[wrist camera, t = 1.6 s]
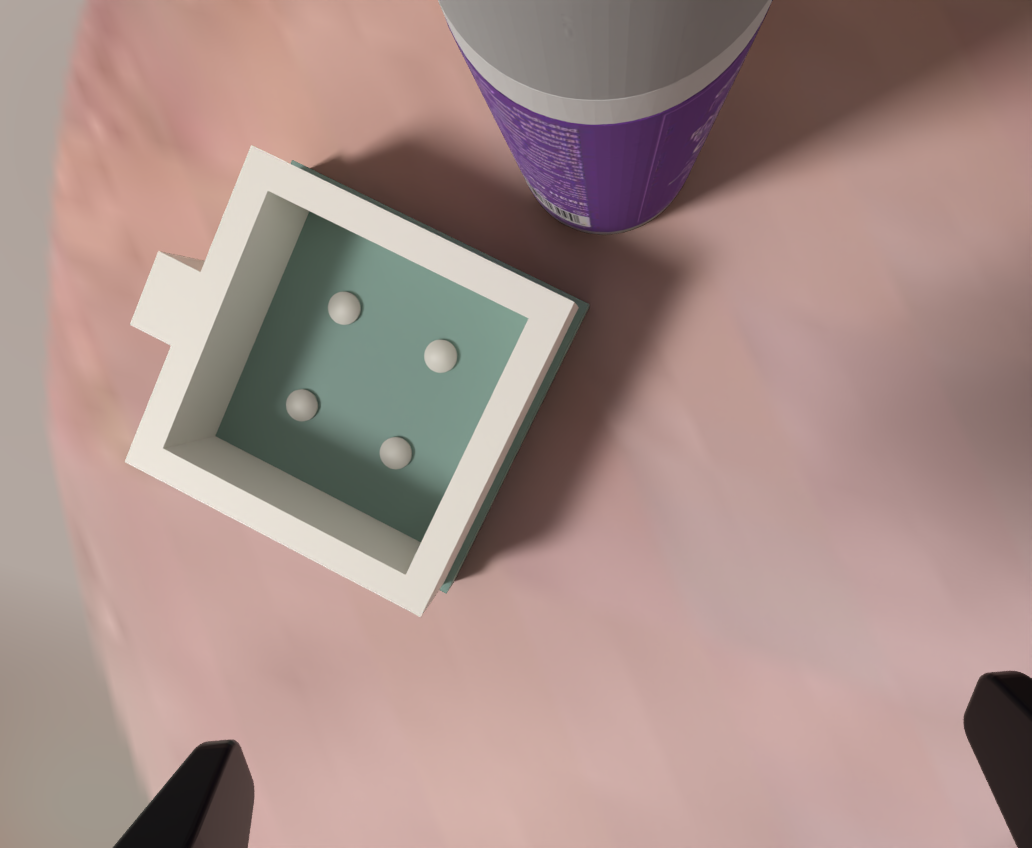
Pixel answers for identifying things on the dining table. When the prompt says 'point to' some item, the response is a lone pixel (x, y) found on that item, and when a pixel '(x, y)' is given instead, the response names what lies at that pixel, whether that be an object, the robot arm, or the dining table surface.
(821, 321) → the dining table surface
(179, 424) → the board
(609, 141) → the container
